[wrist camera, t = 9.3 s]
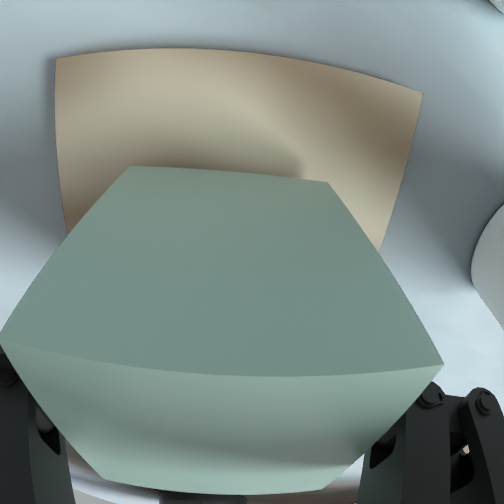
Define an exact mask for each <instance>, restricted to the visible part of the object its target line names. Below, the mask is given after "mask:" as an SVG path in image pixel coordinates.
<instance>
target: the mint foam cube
mask: <svg viewBox="0 0 504 504" xmlns="http://www.w3.org/2000/svg"><path fill="white" fill-rule="evenodd" d="M0 345H1V346H2V348H3V350H4V352H5V353H6V355H7V357H8V359H9V360H10V362H11V364H12V365H13V367H14V368H15V370H16V372H17V373H18V375H19V376H20V378H21V379H22V381H23V382H24V384H25V385H26V387H27V388H28V390H29V391H30V393H31V394H32V396H33V397H34V398H35V400H36V401H37V403H38V404H39V405H40V407H41V408H42V409H43V411H44V412H45V413H46V415H47V416H48V417H49V419H50V420H51V421H52V422H53V424H54V425H55V426H56V427H57V429H58V430H59V431H60V432H61V433H62V435H63V436H64V437H65V438H66V439H67V440H68V442H69V443H70V444H71V445H72V446H73V447H74V448H75V450H76V451H77V452H78V453H79V454H80V455H81V456H82V457H83V458H84V459H85V460H86V462H87V463H88V464H89V465H90V466H91V467H92V468H93V469H94V470H95V471H96V472H97V473H98V474H99V475H100V476H101V477H102V478H103V479H105V480H109V481H114V482H119V483H124V484H129V485H135V486H140V487H147V488H153V489H161V490H169V491H178V492H189V493H203V494H227V495H253V494H277V493H291V492H302V491H311V490H319V489H323V488H324V487H325V486H327V485H328V484H329V483H330V482H332V481H333V480H334V479H335V478H337V477H338V476H339V475H340V474H341V473H342V472H344V471H345V470H346V469H347V468H348V467H349V466H351V465H352V464H353V463H354V462H355V461H356V460H357V459H358V458H360V457H361V456H362V455H363V454H364V453H365V452H366V451H367V450H368V449H369V448H370V447H371V446H372V445H373V444H375V443H376V442H377V441H378V440H379V439H380V438H381V437H382V436H383V435H384V434H385V433H386V432H387V431H388V430H389V429H390V427H391V426H392V425H393V424H394V423H395V422H396V421H397V420H398V419H399V418H400V417H401V416H402V415H403V414H404V413H405V411H406V410H407V409H408V408H409V407H410V406H411V405H412V404H413V402H414V401H415V400H416V399H417V398H418V397H419V395H420V394H421V393H422V392H423V391H424V389H425V388H426V387H427V386H428V385H429V383H430V382H431V381H432V380H433V378H434V377H435V376H436V374H437V373H438V372H439V371H440V369H441V368H442V367H443V365H444V362H443V360H442V359H441V357H440V355H439V353H438V351H437V349H436V347H435V346H434V344H433V342H432V340H431V338H430V336H429V335H428V333H427V331H426V329H425V328H424V326H423V324H422V322H421V321H420V319H419V317H418V315H417V314H416V312H415V310H414V309H413V307H412V305H411V304H410V302H409V300H408V299H407V297H406V295H405V294H404V292H403V290H402V289H401V287H400V286H399V284H398V282H397V281H396V279H395V278H394V276H393V275H392V273H391V271H390V270H389V268H388V267H387V265H386V264H385V262H384V261H383V259H382V258H381V256H380V255H379V253H378V252H377V250H376V249H375V247H374V246H373V244H372V243H371V241H370V240H369V238H368V237H367V235H366V234H365V233H364V231H363V230H362V228H361V227H360V225H359V224H358V223H357V221H356V220H355V218H354V217H353V216H352V214H351V213H350V211H349V210H348V209H347V207H346V206H345V205H344V203H343V202H342V200H341V199H340V198H339V196H338V195H337V194H336V192H335V191H334V190H333V188H332V187H331V186H330V185H329V183H328V182H322V181H315V180H307V179H299V178H291V177H282V176H273V175H264V174H254V173H244V172H232V171H220V170H206V169H191V168H173V167H150V166H129V167H128V168H127V169H126V170H125V171H124V172H123V173H122V175H121V176H120V177H119V178H118V179H117V180H116V181H115V182H114V183H113V184H112V185H111V186H110V187H109V188H108V189H107V190H106V192H105V193H104V194H103V195H102V196H101V197H100V198H99V199H98V200H97V202H96V203H95V204H94V205H93V206H92V207H91V208H90V209H89V211H88V212H87V213H86V214H85V215H84V216H83V218H82V219H81V220H80V221H79V222H78V224H77V225H76V226H75V227H74V228H73V230H72V231H71V232H70V233H69V234H68V236H67V237H66V238H65V239H64V241H63V242H62V243H61V244H60V246H59V247H58V248H57V250H56V251H55V252H54V254H53V255H52V256H51V257H50V259H49V260H48V261H47V263H46V264H45V266H44V267H43V268H42V270H41V271H40V272H39V274H38V275H37V277H36V278H35V279H34V281H33V282H32V284H31V285H30V287H29V288H28V289H27V291H26V292H25V294H24V295H23V297H22V298H21V300H20V301H19V303H18V304H17V306H16V308H15V309H14V311H13V312H12V314H11V315H10V317H9V319H8V320H7V322H6V324H5V325H4V327H3V328H2V330H1V332H0Z"/></svg>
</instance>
